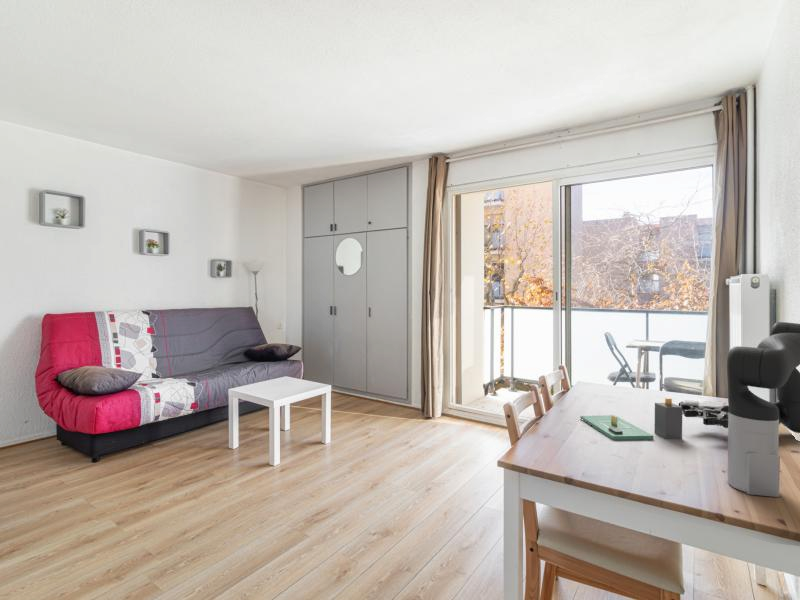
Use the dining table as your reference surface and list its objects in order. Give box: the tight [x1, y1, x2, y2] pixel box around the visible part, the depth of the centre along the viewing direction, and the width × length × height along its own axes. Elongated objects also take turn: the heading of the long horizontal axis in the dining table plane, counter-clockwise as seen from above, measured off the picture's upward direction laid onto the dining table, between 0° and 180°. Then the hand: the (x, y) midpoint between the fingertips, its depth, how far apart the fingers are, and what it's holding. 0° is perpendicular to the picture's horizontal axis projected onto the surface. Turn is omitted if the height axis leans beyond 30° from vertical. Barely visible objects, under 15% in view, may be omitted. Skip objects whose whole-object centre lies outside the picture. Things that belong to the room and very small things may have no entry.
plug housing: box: [654, 397, 683, 440], centre depth 136 cm, size 5×5×12 cm
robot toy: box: [678, 399, 727, 411], centre depth 163 cm, size 12×4×15 cm
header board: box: [579, 414, 654, 441], centre depth 144 cm, size 22×13×4 cm, turn 2°
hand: (694, 417), depth 137 cm, fingers open, 8 cm apart
